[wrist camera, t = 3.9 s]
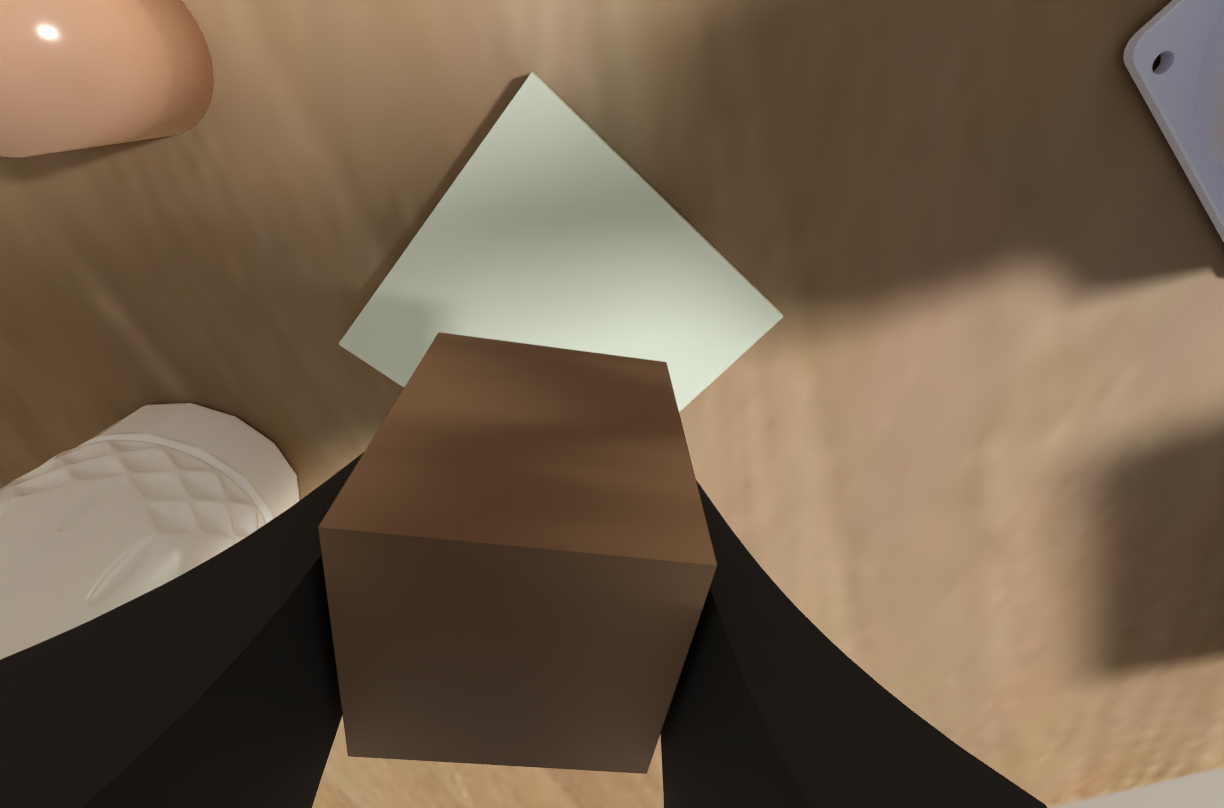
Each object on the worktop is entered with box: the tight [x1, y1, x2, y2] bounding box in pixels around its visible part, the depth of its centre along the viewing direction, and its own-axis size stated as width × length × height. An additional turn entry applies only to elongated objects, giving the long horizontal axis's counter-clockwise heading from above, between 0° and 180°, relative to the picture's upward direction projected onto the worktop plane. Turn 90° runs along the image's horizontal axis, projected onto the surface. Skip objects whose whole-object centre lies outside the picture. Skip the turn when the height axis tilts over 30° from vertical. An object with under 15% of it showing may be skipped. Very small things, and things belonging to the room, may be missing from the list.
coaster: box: [338, 72, 784, 412], centre depth 18 cm, size 10×10×1 cm
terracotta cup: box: [0, 0, 214, 157], centre depth 13 cm, size 4×4×4 cm
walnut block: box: [318, 332, 717, 774], centre depth 10 cm, size 4×4×6 cm
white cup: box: [0, 403, 300, 659], centre depth 17 cm, size 8×8×10 cm
